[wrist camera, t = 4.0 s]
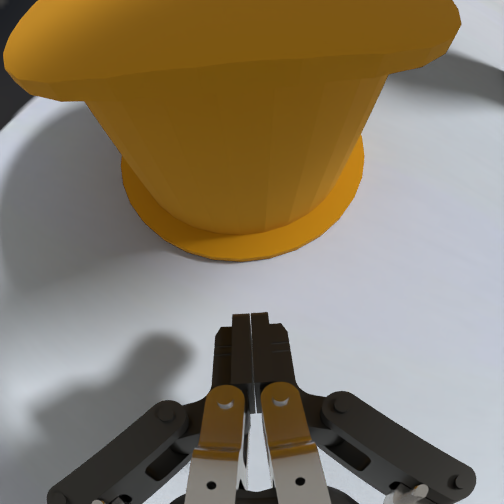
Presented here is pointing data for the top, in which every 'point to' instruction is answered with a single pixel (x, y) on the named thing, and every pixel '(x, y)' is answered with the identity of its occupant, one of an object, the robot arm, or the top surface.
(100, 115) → the spool
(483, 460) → the top surface
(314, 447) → the robot arm
